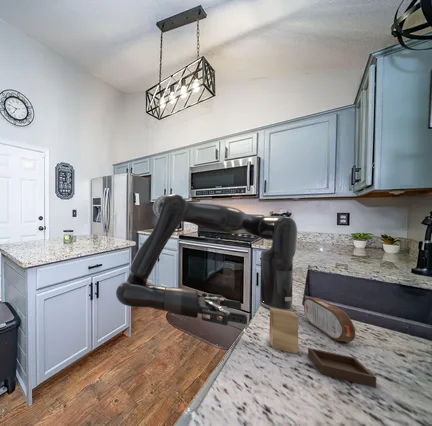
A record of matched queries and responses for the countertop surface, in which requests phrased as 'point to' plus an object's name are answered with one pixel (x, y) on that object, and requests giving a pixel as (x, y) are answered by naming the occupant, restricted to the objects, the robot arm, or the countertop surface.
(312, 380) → the countertop surface
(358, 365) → the frame
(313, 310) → the tin
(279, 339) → the block
